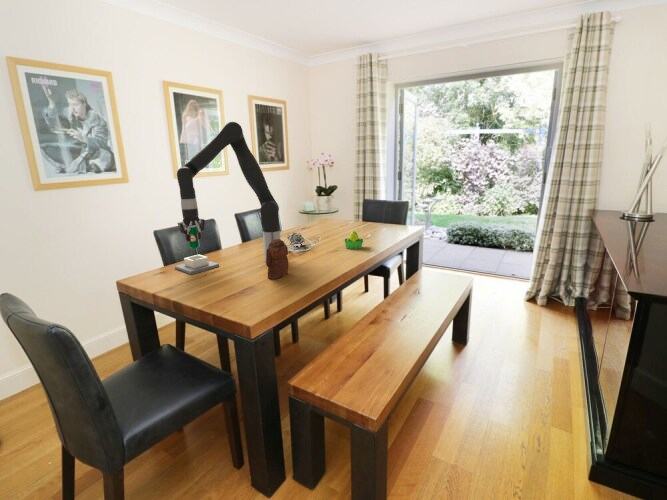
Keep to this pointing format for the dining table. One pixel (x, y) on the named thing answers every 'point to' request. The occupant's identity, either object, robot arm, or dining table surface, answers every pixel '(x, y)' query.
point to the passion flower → (296, 238)
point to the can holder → (196, 264)
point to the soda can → (194, 237)
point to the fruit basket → (353, 241)
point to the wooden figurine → (277, 259)
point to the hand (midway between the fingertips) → (193, 240)
